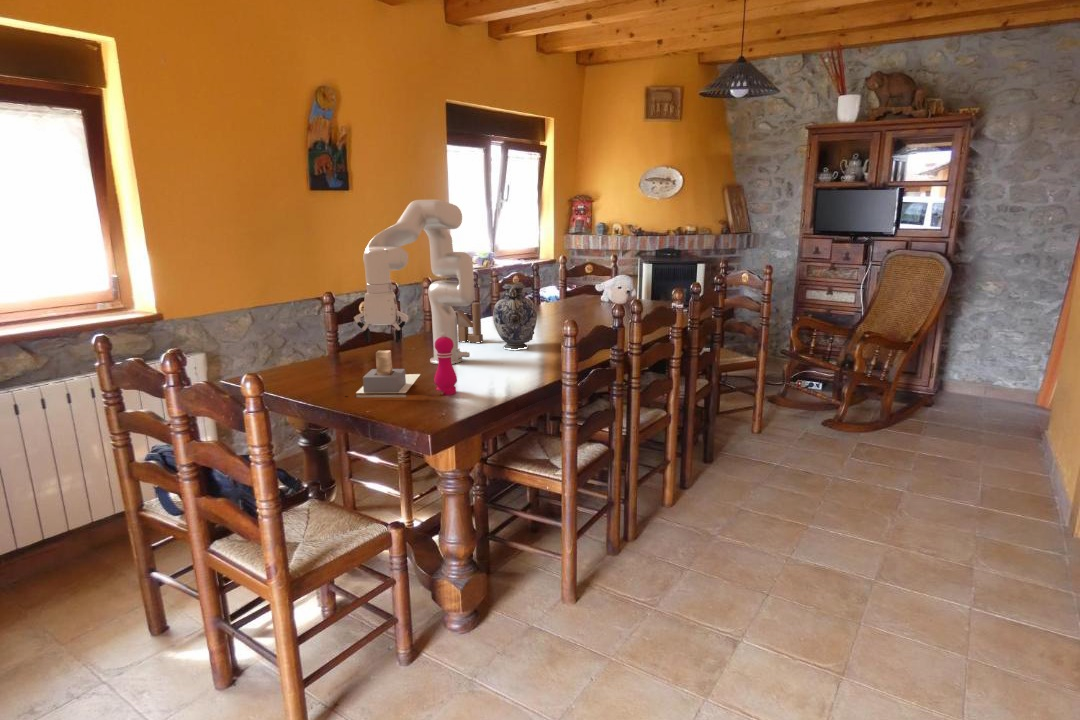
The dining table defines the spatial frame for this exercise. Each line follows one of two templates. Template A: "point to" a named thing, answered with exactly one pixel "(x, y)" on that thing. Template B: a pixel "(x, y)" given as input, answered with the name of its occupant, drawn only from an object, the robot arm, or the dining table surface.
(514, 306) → the decorative vase
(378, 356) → the square wooden peg
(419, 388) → the dining table surface
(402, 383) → the board
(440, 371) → the pink bowling pin
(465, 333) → the brown braced post frame
